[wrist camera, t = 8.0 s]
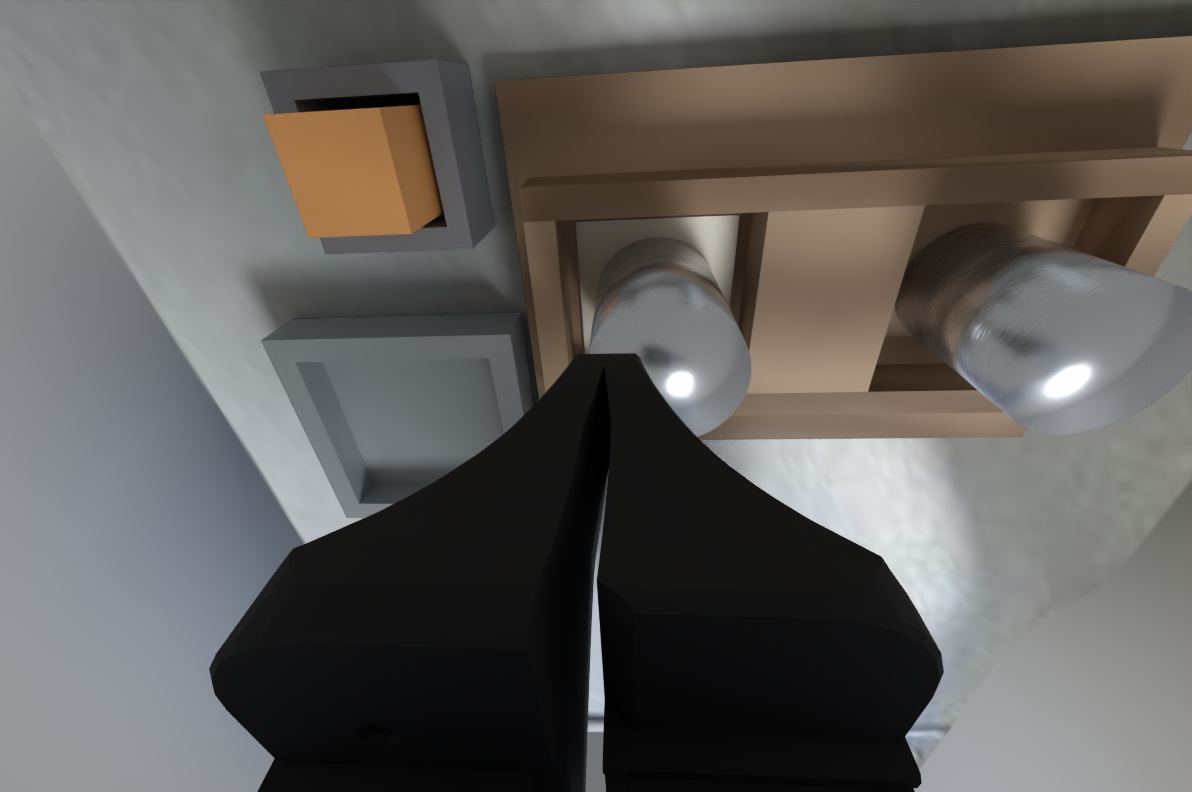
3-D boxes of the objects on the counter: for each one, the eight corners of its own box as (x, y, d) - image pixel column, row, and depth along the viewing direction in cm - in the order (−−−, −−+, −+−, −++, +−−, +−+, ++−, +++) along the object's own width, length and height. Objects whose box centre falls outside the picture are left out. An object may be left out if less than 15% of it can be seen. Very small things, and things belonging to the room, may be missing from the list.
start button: (446, 211, 16) (411, 234, 13) (358, 214, 16) (309, 238, 13) (423, 104, 14) (379, 107, 11) (327, 110, 14) (263, 114, 12)
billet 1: (708, 349, 19) (738, 443, 14) (597, 348, 19) (588, 441, 14) (722, 236, 16) (764, 300, 11) (596, 237, 17) (582, 300, 12)
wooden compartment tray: (1006, 423, 21) (1057, 468, 19) (547, 427, 23) (538, 469, 20) (1208, 36, 14) (1339, 23, 11) (501, 81, 15) (477, 79, 13)
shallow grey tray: (546, 488, 25) (540, 518, 23) (365, 488, 26) (346, 517, 24) (520, 312, 20) (510, 334, 18) (292, 318, 20) (261, 340, 19)
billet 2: (999, 338, 18) (1144, 434, 13) (880, 341, 18) (976, 435, 13) (1054, 219, 16) (1256, 279, 11) (916, 224, 16) (1048, 285, 11)
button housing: (494, 226, 18) (473, 248, 15) (367, 231, 18) (325, 254, 16) (468, 64, 15) (437, 59, 13) (319, 74, 15) (259, 71, 13)
